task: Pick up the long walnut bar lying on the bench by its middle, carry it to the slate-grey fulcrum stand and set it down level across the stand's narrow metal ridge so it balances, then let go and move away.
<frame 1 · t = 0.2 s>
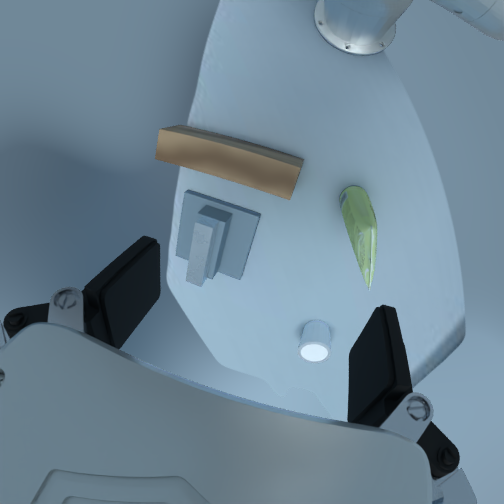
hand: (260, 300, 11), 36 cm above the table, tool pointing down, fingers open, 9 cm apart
tube: (353, 200, 44), on the table
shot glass: (316, 328, 59), on the table
walnut bar: (235, 153, 45), on the table
fulcrum stand: (215, 234, 53), on the table
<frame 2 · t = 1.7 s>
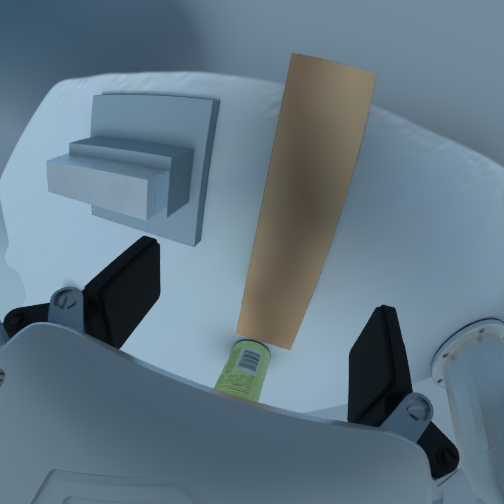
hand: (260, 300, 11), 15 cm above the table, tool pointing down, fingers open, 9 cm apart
tube: (250, 351, 35), on the table
walnut bar: (304, 198, 24), on the table
fulcrum stand: (146, 162, 26), on the table
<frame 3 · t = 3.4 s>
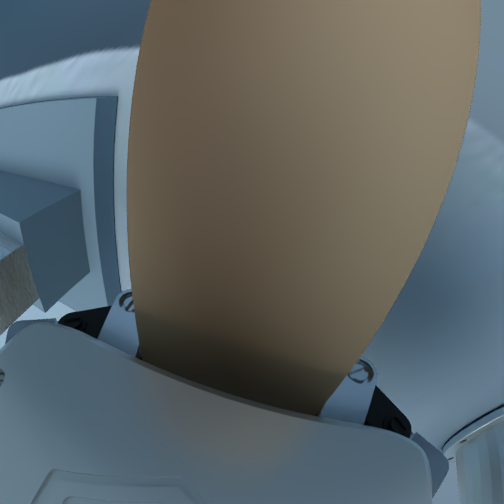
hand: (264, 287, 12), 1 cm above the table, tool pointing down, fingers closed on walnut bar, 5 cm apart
walnut bar: (270, 272, 13), on the table, touching gripper
fulcrum stand: (43, 203, 15), on the table
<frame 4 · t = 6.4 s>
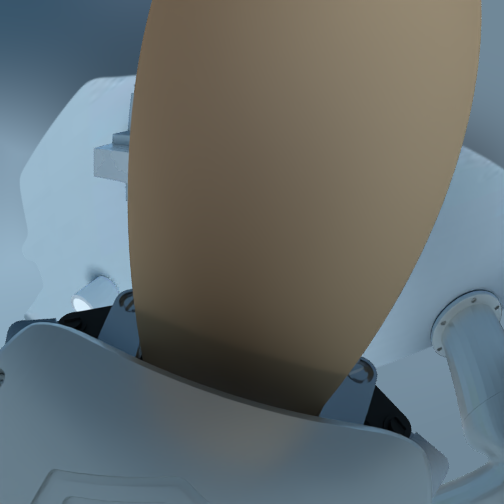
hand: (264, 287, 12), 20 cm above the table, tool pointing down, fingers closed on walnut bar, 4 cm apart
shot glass: (108, 288, 46), on the table
walnut bar: (270, 272, 13), point 18 cm above the table, touching gripper
fulcrum stand: (181, 153, 30), on the table
when the fingers open (10 cm above the table, at t = 9.3 s): walnut bar stays where it is, resting on fulcrum stand.
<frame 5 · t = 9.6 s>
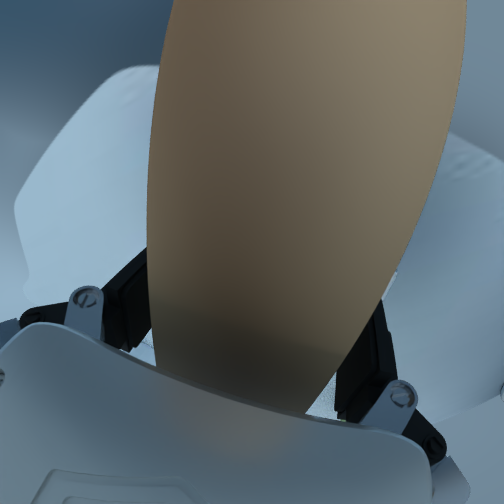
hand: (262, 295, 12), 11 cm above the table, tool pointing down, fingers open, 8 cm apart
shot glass: (146, 354, 36), on the table
walnut bar: (273, 264, 14), point 8 cm above the table, touching fulcrum stand
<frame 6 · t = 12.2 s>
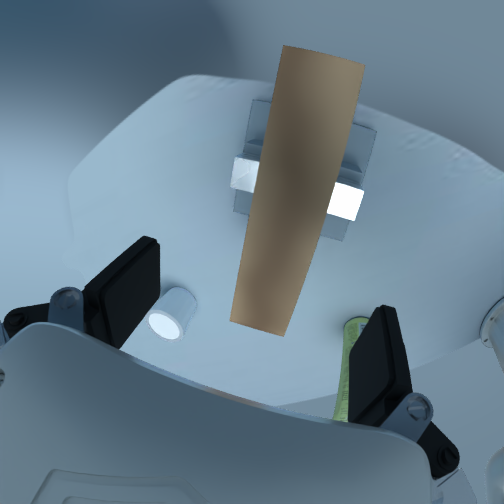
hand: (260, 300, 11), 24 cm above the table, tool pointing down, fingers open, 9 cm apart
tube: (357, 326, 41), on the table
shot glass: (182, 299, 47), on the table
walnut bar: (296, 187, 25), point 8 cm above the table, touching fulcrum stand
fulcrum stand: (302, 169, 32), on the table
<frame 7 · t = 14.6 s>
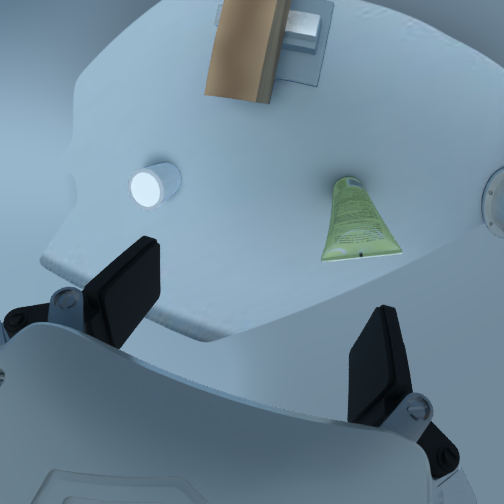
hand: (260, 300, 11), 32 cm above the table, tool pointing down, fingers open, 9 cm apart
tube: (347, 191, 40), on the table
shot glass: (167, 177, 45), on the table
walnut bar: (265, 17, 23), point 8 cm above the table, touching fulcrum stand
fulcrum stand: (277, 34, 30), on the table
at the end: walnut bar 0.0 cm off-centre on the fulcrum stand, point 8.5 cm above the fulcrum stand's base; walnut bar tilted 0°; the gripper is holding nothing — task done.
